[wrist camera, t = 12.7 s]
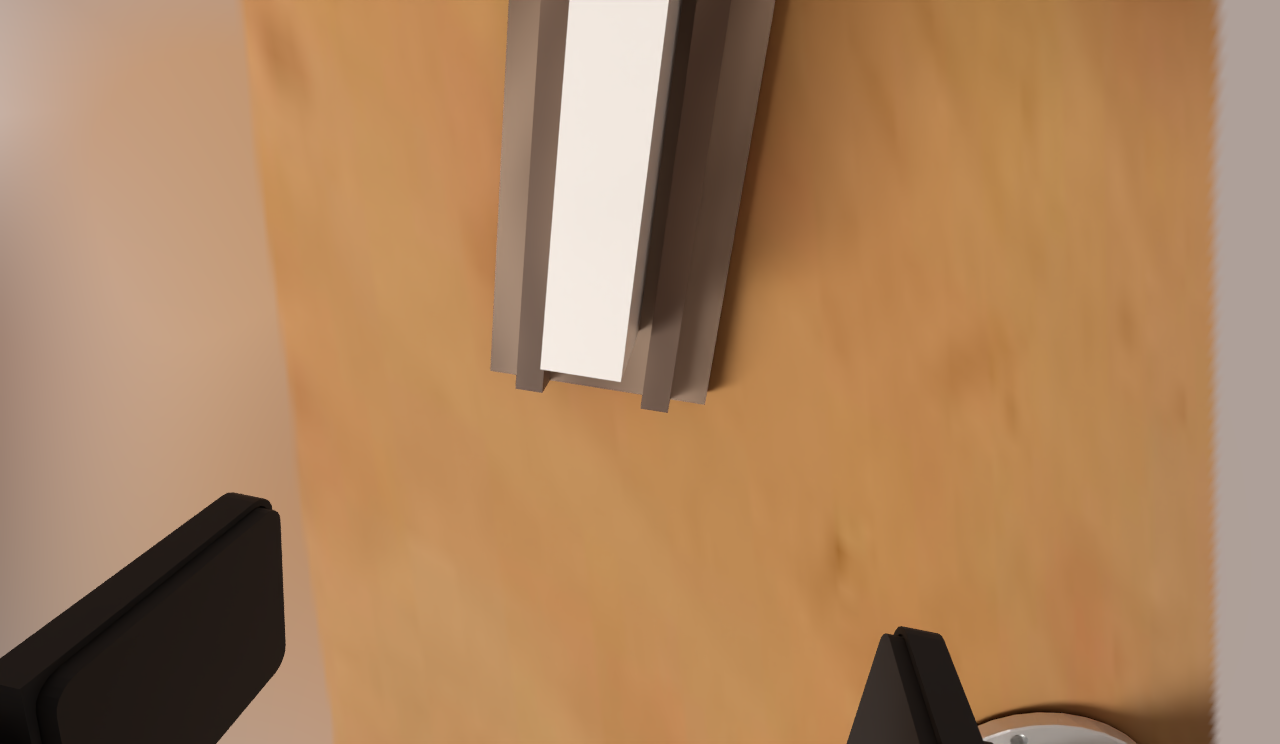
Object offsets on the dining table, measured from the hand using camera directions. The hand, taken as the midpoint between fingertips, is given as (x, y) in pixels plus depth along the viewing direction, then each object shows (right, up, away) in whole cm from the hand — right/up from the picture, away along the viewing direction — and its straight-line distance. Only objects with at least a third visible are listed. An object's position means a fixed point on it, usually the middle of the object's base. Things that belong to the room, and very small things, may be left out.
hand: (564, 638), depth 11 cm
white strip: (+1, +13, +18) cm, 22 cm away
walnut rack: (+1, +14, +19) cm, 23 cm away
